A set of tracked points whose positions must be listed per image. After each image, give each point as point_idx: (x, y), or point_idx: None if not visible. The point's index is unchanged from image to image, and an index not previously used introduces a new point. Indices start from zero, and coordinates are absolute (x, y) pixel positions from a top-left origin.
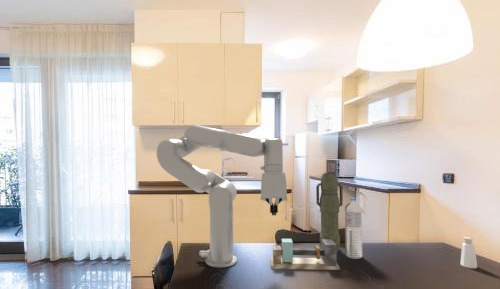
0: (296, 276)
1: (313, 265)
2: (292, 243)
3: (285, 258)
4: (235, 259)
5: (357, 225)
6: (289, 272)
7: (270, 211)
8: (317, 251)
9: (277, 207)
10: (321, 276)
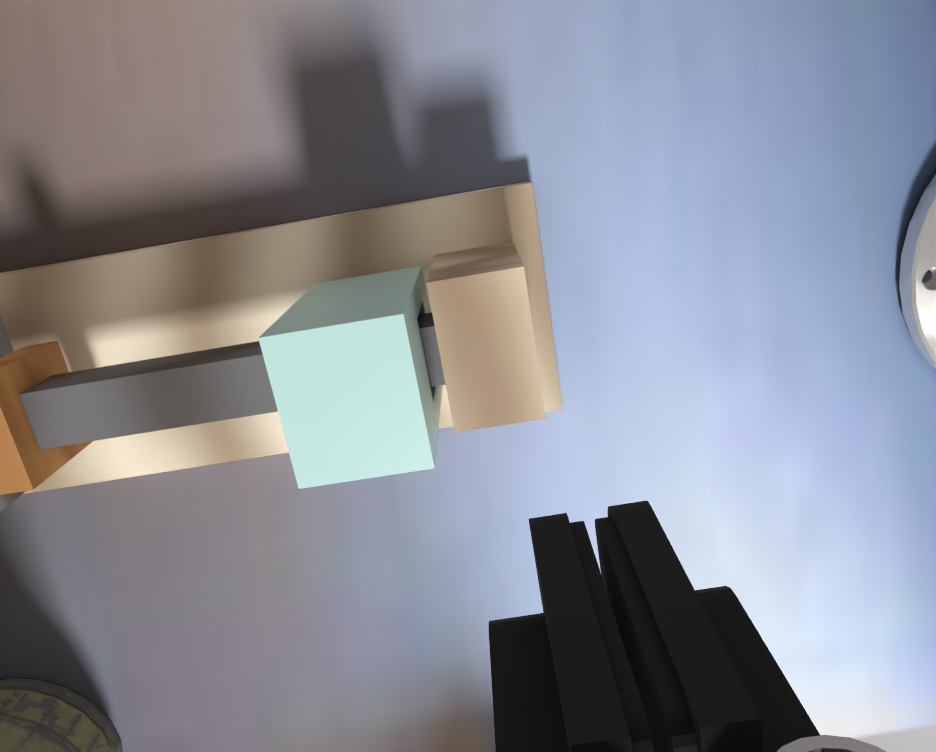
0: (263, 47)
1: (115, 289)
2: (266, 332)
3: (386, 278)
4: (927, 266)
5: None
6: (342, 131)
7: (731, 601)
8: (1, 364)
9: (502, 737)
10: (28, 103)
